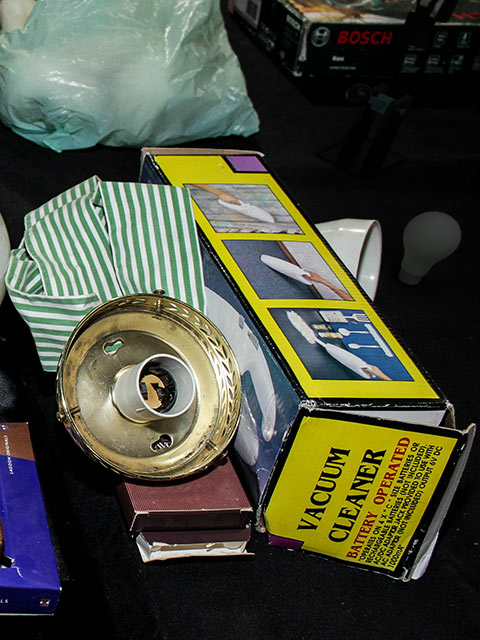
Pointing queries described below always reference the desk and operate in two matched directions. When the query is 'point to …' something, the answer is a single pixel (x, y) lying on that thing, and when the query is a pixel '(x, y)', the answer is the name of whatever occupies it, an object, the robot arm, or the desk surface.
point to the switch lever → (367, 98)
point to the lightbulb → (427, 244)
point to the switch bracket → (362, 153)
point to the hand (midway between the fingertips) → (422, 31)
